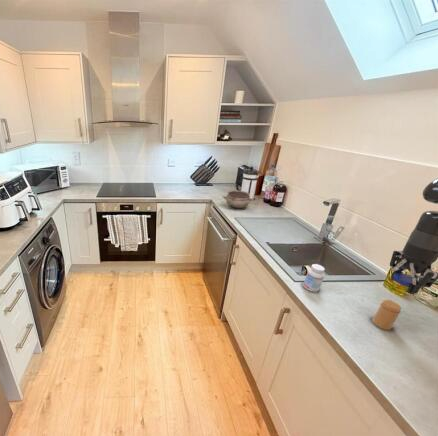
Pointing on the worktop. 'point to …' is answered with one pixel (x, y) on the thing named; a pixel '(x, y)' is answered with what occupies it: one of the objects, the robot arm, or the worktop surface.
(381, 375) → the worktop surface
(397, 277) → the lid
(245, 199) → the cooking pot
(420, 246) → the robot arm
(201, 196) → the worktop surface
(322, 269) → the pill bottle
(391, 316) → the jar
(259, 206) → the worktop surface
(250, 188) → the coffee press
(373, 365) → the worktop surface
